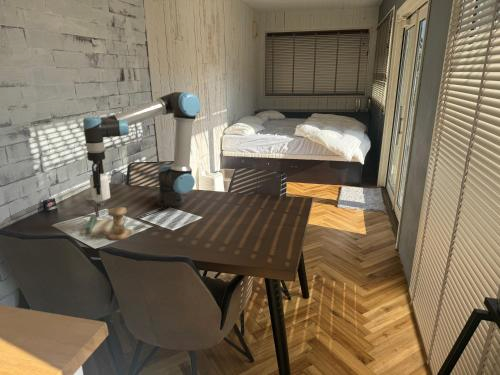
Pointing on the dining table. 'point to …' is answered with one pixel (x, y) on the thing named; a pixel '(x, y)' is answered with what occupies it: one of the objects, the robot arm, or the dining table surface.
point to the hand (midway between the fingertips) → (101, 197)
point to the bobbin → (118, 224)
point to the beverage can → (103, 184)
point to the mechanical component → (95, 204)
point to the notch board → (99, 226)
